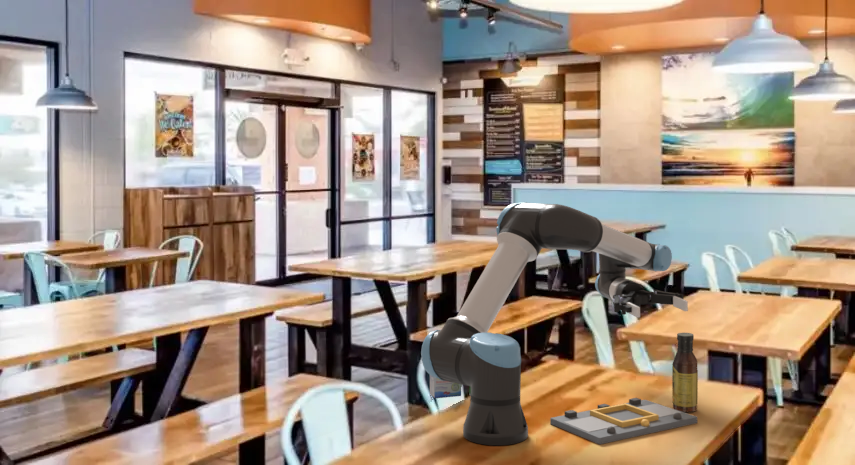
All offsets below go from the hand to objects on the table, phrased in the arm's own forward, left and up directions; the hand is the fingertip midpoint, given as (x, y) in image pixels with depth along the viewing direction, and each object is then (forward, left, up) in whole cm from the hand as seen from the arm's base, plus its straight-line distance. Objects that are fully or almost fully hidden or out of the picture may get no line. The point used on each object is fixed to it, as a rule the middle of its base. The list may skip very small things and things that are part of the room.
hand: (662, 309), depth 232 cm
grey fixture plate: (-21, -9, -25) cm, 34 cm away
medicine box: (-45, +35, -25) cm, 63 cm away
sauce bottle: (0, -9, -25) cm, 26 cm away
